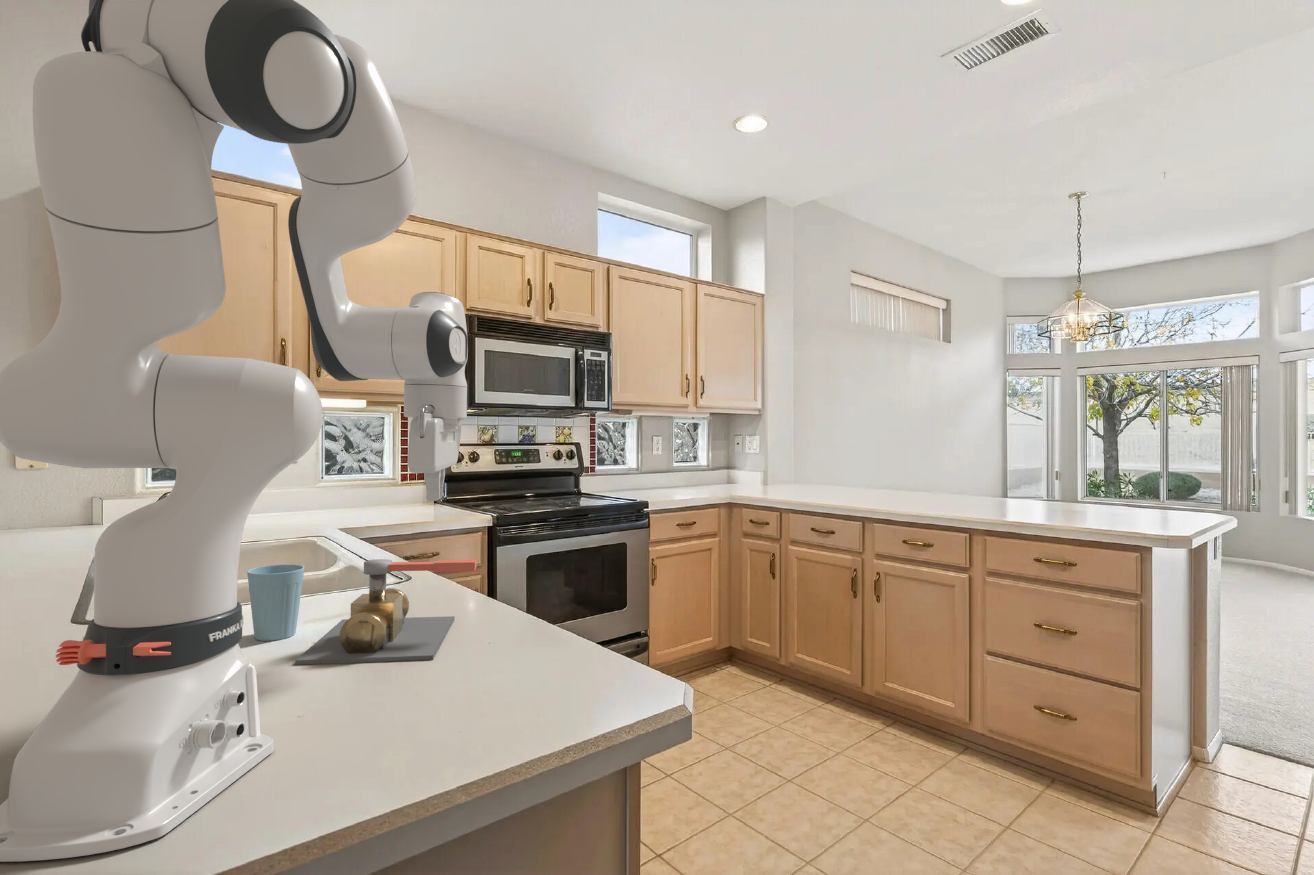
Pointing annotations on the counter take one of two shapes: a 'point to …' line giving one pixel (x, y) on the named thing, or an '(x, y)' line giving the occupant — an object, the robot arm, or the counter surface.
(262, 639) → the cup
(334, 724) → the counter surface
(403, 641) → the mat
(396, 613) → the valve body
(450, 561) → the lever
